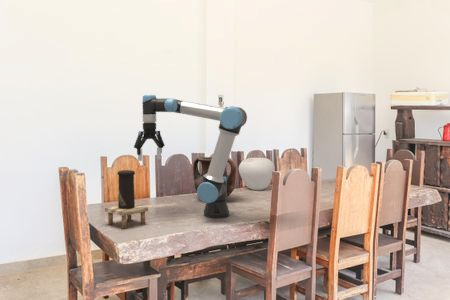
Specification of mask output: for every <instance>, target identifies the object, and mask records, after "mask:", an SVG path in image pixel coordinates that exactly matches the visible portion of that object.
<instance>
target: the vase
mask: <svg viewBox="0 0 450 300" xmlns="http://www.w3.org/2000/svg"><path fill="white" fill-rule="evenodd" d="M275 170H276V167H275V164H274V163H273V161H272V160H270V159H269V158H266V157H248V158H244V159H243V160H242V161H241V162H240V164H239V165H238V173H239V175H240V178H241V180H242V182H243V183H244V185H245V186H246V187H247V188H249V189H251V190H252V191H263V190H265V189H266V188H267V187H268V186H269V185H270V183H271V181H272V179H273V177H272V172H274V171H275ZM275 172H276V171H275ZM275 172H274V173H275Z"/></svg>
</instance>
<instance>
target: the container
mask: <svg viewBox="0 0 450 300" xmlns="http://www.w3.org/2000/svg"><path fill="white" fill-rule="evenodd" d="M117 175H118V198H117V199H118V205H117V206H118V207H119V208H121V209H131V208H134V207H135V205H136V204H135V175H136V171H134V170H132V169H131V170H129V169H125V170H124V169H123V170H118V171H117Z"/></svg>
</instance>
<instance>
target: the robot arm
mask: <svg viewBox="0 0 450 300" xmlns="http://www.w3.org/2000/svg"><path fill="white" fill-rule="evenodd" d="M141 104H142V122H143V123H142V130H143V131H142V130H139V131H138V135H137V138H136V140H135V143H134V145H133V148H134V149H136V155H137V160H138V162H139V161H140V162H142V161H143V149H142V148H143V146H144V144H145V143H146V142H147V140H153V142H154V144H155V145H156V146H157V147H156V159H157V160H161V159H162V153H163V151H162V150H163V148H164V147H165V143H164V140H163V137H162V134H161V131H160V130H157V113H176V114H180V115H181V114H182V115H187V116H192V117H197V118H201V119H202V118H204V119H208V120H213V121H217V122H218V121H219V125H218V131H219V135H218V138H217V142H216V144H215V147H214V150H213V153H212V156H211V157H212V160H211V163H210V166H209V169H208V173H207V174H205V175H204V176H203V179H202V183H201V184H200V185H199V187H198V189H197V190H196V194H197V197H198V198H199V199H200V201H201V202H203V203H205V206H204V209H203V216H204V217H205V218H209V219H221V218H227V217H229V216H230V210H229V206H228V203H227V201H226V198H227V199H228V197H227V180H226V177H223V174H224V171H225V167H226V168H227V166H226V164H227V165H228V162H227V161H228V158H230V155H231V154H230V153H231V152H232V148H233V144H234V142H235V138H236V136H238V135H240V133H241V128H242V127H244V125H246V123H247V121H248V115H247V112H246V111H245V110H244V109H243V108H242V107H239V106H225V107H219V106H213V105H208V104H202V103H197V102H191V101H186V100H185V101H184V100H180V99H176V98H171V97H170V98H158V97H157V95H155V94H144V95H142V102H141Z"/></svg>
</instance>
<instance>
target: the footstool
mask: <svg viewBox="0 0 450 300" xmlns="http://www.w3.org/2000/svg"><path fill="white" fill-rule="evenodd" d="M104 212H106V213H107V215H108V216H107V220H108V221H107V223H108V226H112V225H113V224H114V215H117V216H121V229H123V230H126V229H128V228H127V227H128V226H127V224H128V223H127V222H131V221H132V215H136V214H140V225H141V224H142V225H143V224H144V225H146V213H147V212H149V207H147V206H143V205H139V204H135V207H134V208H131V209H121V208H119V207H118V205H112V206H107V207H105V208H104Z"/></svg>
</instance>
